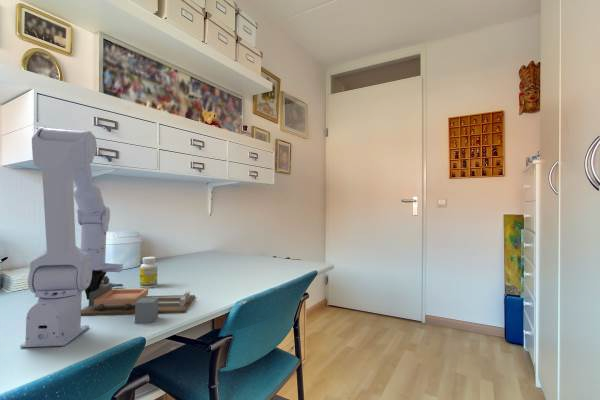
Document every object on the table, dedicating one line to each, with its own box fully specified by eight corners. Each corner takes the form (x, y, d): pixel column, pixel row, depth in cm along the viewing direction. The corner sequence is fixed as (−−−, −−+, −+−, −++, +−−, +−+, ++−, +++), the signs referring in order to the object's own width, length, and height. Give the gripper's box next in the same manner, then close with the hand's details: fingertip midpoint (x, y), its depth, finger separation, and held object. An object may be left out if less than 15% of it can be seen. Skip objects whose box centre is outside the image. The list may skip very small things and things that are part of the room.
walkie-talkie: (53, 291, 98) (121, 290, 101) (54, 277, 98) (121, 276, 101) (69, 284, 106) (131, 283, 110) (69, 271, 106) (131, 271, 110)
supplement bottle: (139, 284, 107) (140, 256, 107) (157, 283, 109) (157, 255, 109) (139, 288, 102) (140, 259, 102) (157, 287, 104) (158, 258, 104)
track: (184, 312, 80) (185, 302, 80) (76, 315, 77) (76, 305, 77) (194, 296, 94) (195, 288, 94) (103, 298, 90) (103, 290, 90)
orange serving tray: (133, 309, 80) (134, 293, 80) (86, 310, 78) (87, 294, 78) (148, 296, 91) (149, 282, 91) (108, 297, 90) (108, 282, 90)
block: (152, 323, 73) (153, 302, 73) (134, 324, 73) (135, 302, 73) (157, 317, 77) (158, 297, 77) (140, 317, 76) (141, 297, 77)
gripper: (127, 246, 89) (126, 293, 89) (72, 246, 87) (70, 294, 86) (117, 250, 82) (115, 301, 82) (57, 250, 80) (55, 302, 79)
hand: (91, 298), depth 84 cm, fingers closed
